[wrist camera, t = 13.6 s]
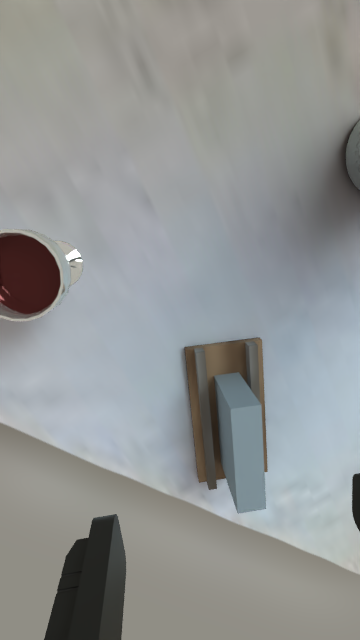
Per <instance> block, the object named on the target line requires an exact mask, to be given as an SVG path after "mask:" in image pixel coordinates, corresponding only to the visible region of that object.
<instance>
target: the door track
mask: <svg viewBox="0 0 360 640" xmlns="http://www.w3.org/2000/svg"><path fill="white" fill-rule="evenodd" d="M185 356H186V366H187V375H188V385H189V395H190V404H191V414H192V424H193V434H194V443H195V453H196V463H197V472H198V479H199V482H205V481H207V484H208V488H209V490H211V489H217V484H216V480H218V479H224V478H226V476H225V473H224V470H223V467H222V464H221V457H220V444H219V432H218V419H217V407H216V394H215V382H214V376H215V375H222V374H230V373H237V372H239V373H240V375H241V376H242V378H243V379H244V380H245V382H246V383H247V385H248V386H249V388H250V389H251V391H252V392H253V393H254V395H255V396H256V398H257V399H258V401H259V402H260V403H261V406H262V429H263V452H264V472H267V448H266V425H265V401H264V378H263V354H262V340H261V339H260V338H252V339H244V340H236V341H229V342H221V343H213V344H205V345H197V346H190V347H185Z"/></svg>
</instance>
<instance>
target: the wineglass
mask: <svg viewBox="0 0 360 640" xmlns="http://www.w3.org/2000/svg"><path fill="white" fill-rule="evenodd" d="M82 269H83V264H82V259H81V256H80V254H79V253H78V251H77V250H76V249H75V248H74V247H73V246H71V245H70V244H68V243H65V242H62V241H52V240H51V239H50V238H48V237H47V236H45V235H44V234H41V233H38V232H35V231H32V230H22V229H14V230H10V229H3V230H0V318H3V319H7V320H10V321H30V320H34V319H37V318H40V317H42V316H43V315H45V314H46V313H48V312H50V311H52V310H53V309H54V308H56V307H57V306H58V305H60V304H61V302H62V301H63V299H64V298H65V296H66V295H67V293H68V290H69V287H70V286H71V285H72V284H74V283H75V282H77V280H78V279H79V277H80V276H81V273H82Z"/></svg>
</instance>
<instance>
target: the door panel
mask: <svg viewBox="0 0 360 640" xmlns="http://www.w3.org/2000/svg"><path fill="white" fill-rule="evenodd" d="M214 382H215V394H216V407H217V419H218V432H219V444H220V457H221V464H222V467H223V470H224V473H225V476H226V479H227V482H228V485H229V488H230V491H231V495H232V498H233V501H234V504H235V507H236V510H237V513H243V512H249V511H256V510H262V509H266V498H265V475H264V452H263V429H262V406H261V403H260V402H259V401H258V399H257V398H256V396H255V395H254V393H253V392H252V391H251V389H250V388H249V386H248V385H247V383H246V382H245V380H244V379H243V378H242V376H241V375H240V373H239V372H237V373H230V374H222V375H215V376H214Z"/></svg>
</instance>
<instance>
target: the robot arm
mask: <svg viewBox="0 0 360 640" xmlns="http://www.w3.org/2000/svg"><path fill="white" fill-rule="evenodd" d="M346 166H347V170H348V174H349V176H350V178H351V180H352V182H353V184H354V185H355V186H356V187H357V188H358V189H359V190H360V120H359V122H358V123H357V124H356V126H355V127H354V129H353V131H352V133H351V135H350V137H349V140H348V144H347V149H346ZM352 512H353V517H354V520H355V523H356V525H357V527H358V529H359V531H360V473H358V474H354V476H353V489H352ZM125 579H126V558H125V550H124V545H123V540H122V535H121V531H120V525H119V520H118V516H117V515H116V514H115V515H109V516H103V517H97V518H94V519H93V520H92V525H91V529H90V534H89V538H84V539H79V540H77V541H76V542H75V544H74V545H73V547H72V548H71V550H70V551H69V553H68V554H67V556H66V559H65V563H64V567H63V571H62V577H61V578H60V582H59V585H58V589H57V591H58V592H57V594H56V597H55V601H54V604H53V608H52V612H51V616H50V620H49V623H48V628H47V631H46V635H45V639H44V640H121V634H122V620H123V606H124V593H125Z"/></svg>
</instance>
